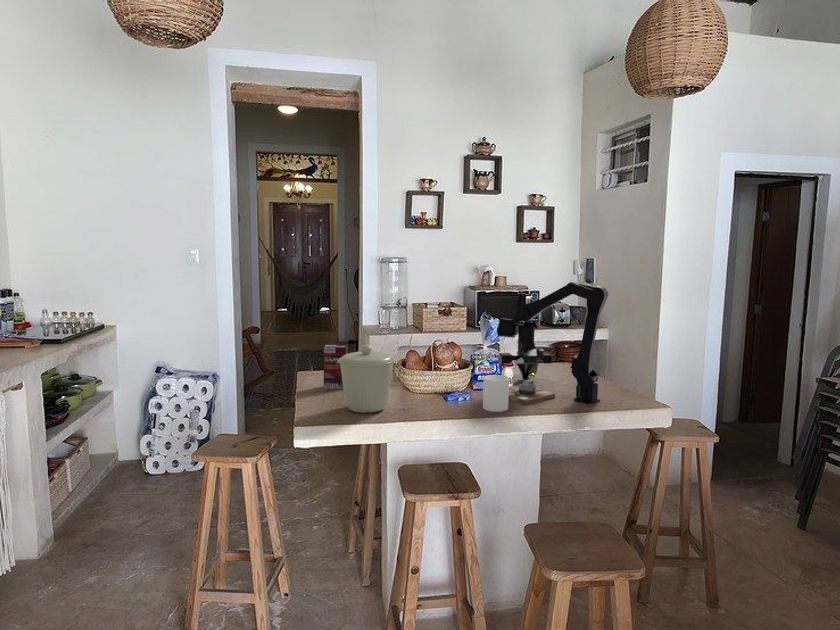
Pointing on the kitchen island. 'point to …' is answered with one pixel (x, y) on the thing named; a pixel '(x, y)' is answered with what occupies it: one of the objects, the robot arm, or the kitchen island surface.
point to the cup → (533, 369)
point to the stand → (529, 396)
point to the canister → (366, 379)
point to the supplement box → (333, 366)
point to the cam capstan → (528, 385)
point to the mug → (495, 393)
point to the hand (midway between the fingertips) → (524, 381)
